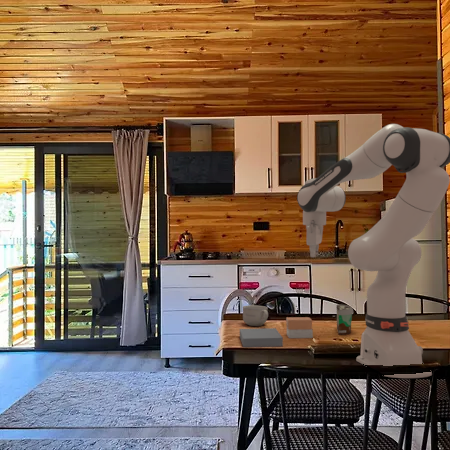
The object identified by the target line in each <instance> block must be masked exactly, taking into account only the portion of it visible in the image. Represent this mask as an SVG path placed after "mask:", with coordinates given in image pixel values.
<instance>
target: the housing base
mask: <svg viewBox="0 0 450 450" xmlns="http://www.w3.org/2000/svg"><path fill="white" fill-rule="evenodd" d="M313 334H314V331H313V328H312V329H288V328H287V327H286V336H287V337H288V339H313V337H314V335H313Z"/></svg>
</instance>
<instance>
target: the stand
mask: <svg viewBox="0 0 450 450" xmlns="http://www.w3.org/2000/svg"><path fill="white" fill-rule="evenodd" d="M239 339H240V343H241V345H242V348H262V347H263V348H265V347H267V348H269V347H272V348H273V347H275V348H276V347H283V346H284V341H283V336H282V335H281V334H280V332H279V331H278V330H277V328H274V327H271V328H239Z"/></svg>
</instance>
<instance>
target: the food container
mask: <svg viewBox="0 0 450 450" xmlns="http://www.w3.org/2000/svg"><path fill="white" fill-rule="evenodd" d="M353 314H354V308H353V307H352V306H351V305H347V304H336V330H337V333H338V335H339V336H341V335H343V336H344V335H349V334H352V321H353V320H352V318H353V317H352V316H353Z"/></svg>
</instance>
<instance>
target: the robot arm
mask: <svg viewBox="0 0 450 450" xmlns="http://www.w3.org/2000/svg"><path fill="white" fill-rule="evenodd" d="M448 165H450V136H448V135H446V134H444V133H443V132H442V133H441V132H435V131H432V130H429V129H425V128H416V127H415V128H414V127H413V128H412V127H408V126H407V127H404V126H402V125H400V124H398V123H390V124H387V125H385V126H383V127H382V128H381V129H379V130H378V131H377V132H375V133H374V134H373V135H371V136H370V137H369V138H368V139H367V140H365V142H364V143H363V144H361V145H360V146H359V147H358V148H357V149H355V150H353V152H352V153H350V154H349V155H347V156H345V157H343V158H342V159H340V160H338V161H336V162H335V163H334V164H332V165H331V166H330V167H328V168H327V169H326V170H325V171H323V172H322V173H321V174H320V175H318V176H317V177H315V178H309V179H308V180H305V182H304V185H302V186H300V189H299V190H298V192H297V196H296V202H297V204H298V206H299V207H300V208H301V210H303V211H302V225H303V226H305V229H306V245H307V246H309V253H310V254H309V255H310V256H309V257H310V258H315V257H316V256H318V255H319V247H320V245H319V244H321V243H322V241H323V233H324V232H323V231H324V226H326V225H327V212H338V211H340V210H342V209H343V208H344V207H345V204H346V200H347V199H346V197H347V196H346V192H345V191H344V189H343V188H342V187H341V186H338V185H340V184H342V183H346V182H349V181H357V180H368V179H373V178H376V177H378V176H379V175H382V174H383V173H385V172H386V171H387V170H388V169H389V168H391V166H393V167H394V168H395V170H396V172H398V173H400V174H404V173H405V174H406V176H405V177H406V179H405V181H404V183H403V185H402V187H401V188H400V189H399V191H398V193H397V195H396V197H395V198H394V200H393V201H392V203H391V204H390V206H389V208H388V209H387V211H386V212H385V214H384V215H383V217H381V219H380V220H378V221H377V223H375V224H374V225H373V226H372V227H371V228H370V229H369V230H368V231H366V232H365V233H364V234H362V235H360V236H359V237H357V238H355V239H353V240H351V242H350V244H349V247H348V250H347V256H348V259H349V262H350V264H351V265H352V266H353V267H354V268H355V269H357V270H361V271H365V272H377V274H376V276H375V279H374V280H373V282H372V283H371V284H370V285H369V286H368V287H367V289H366V313H365V319H364V320H365V325H366V327H365V329H364V331H363V332H362V334H361V337H360V338H361V340H360V355H358V356H357V357H356V359H355V360H356V362H358V363H360V364H361V365H363V364H364V365H363V366H365V365H383V366H393V365H410V364H422V363H423V357H422V356H423V353H424V350H423V347H422V346H421V345H420V346H419V345H418V344H417V342H416V340H415V339H414V338H413V335H412V334H411V332H410V331H409V329H410V325H409V324H410V323H409V321H408V318H407V315H406V291H407V286H408V281H409V279H410V276H411V274H412V271H413V270H414V267H416V265H417V264H418V263H419V262H420V260H421V258H422V248H421V245H420V243H419V242H418V241H417V240H416V239H414V238H415V237H417V236H418V235H420V234H421V233H422V232H423V231H424V229H425V228H426V226H427V225H428V223H429V221H430V220H431V219H432V216H434V214H435V213H436V211H437V209H439V206H440V205H441V202H442V201H443V200H444V197H445V194H446V193H447V190H448V188H449V185H450V175H449V174H448V172H447V171H446V170H445V169H443V168H444V167H446V166H448ZM430 376H433V373H432V371H431V372H423V373H416V374H394V375H384V376H383V377H388V378H397V379H420V378H422V379H423V378H428V377H430Z"/></svg>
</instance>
